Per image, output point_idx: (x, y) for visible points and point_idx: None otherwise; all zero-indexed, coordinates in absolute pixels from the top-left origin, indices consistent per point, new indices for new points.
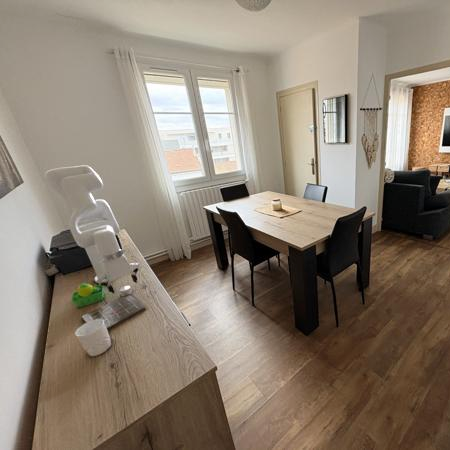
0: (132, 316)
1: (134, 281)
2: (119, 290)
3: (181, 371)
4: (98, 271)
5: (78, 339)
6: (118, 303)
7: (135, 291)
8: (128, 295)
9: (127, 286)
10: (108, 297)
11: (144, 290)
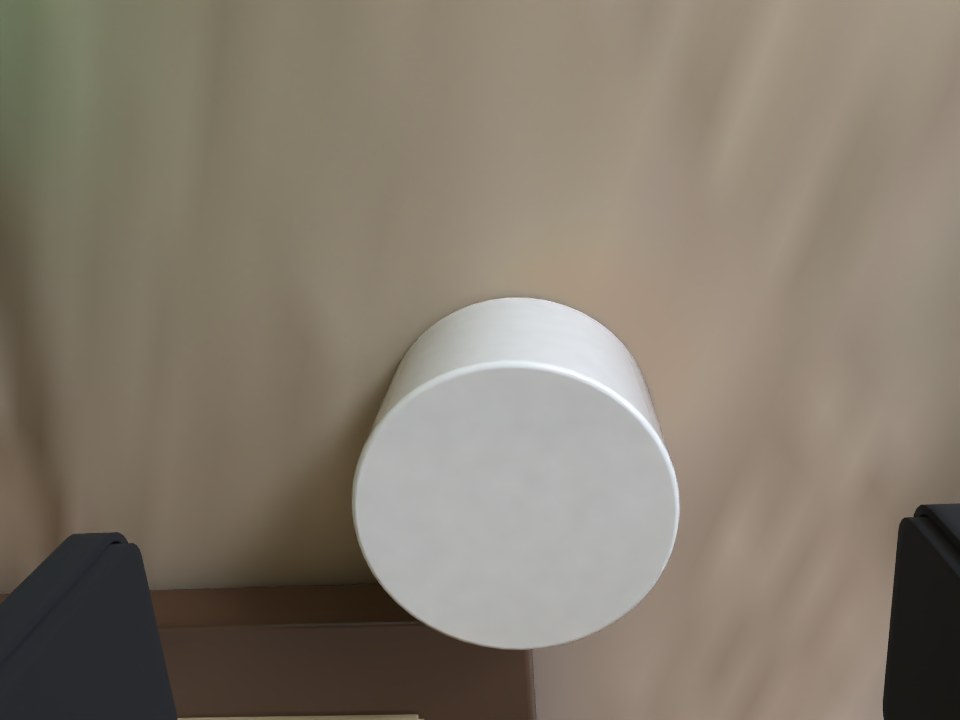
0: None
1: (906, 671)
2: (355, 482)
3: None
4: None
5: None
6: None
7: (709, 517)
8: (497, 702)
9: (622, 462)
10: (93, 167)
11: (868, 665)
